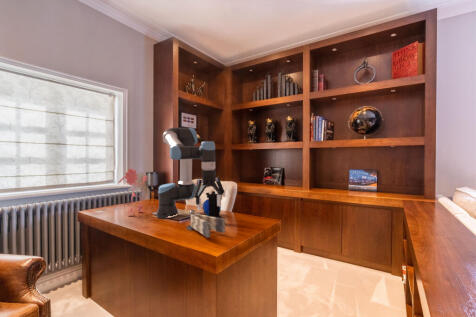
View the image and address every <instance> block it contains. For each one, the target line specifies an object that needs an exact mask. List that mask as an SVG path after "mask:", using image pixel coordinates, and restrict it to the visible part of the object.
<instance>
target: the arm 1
mask: <svg viewBox="0 0 476 317" xmlns="http://www.w3.org/2000/svg"><path fill="white" fill-rule="evenodd" d="M190 225H191V227H192V228H194V229H195V231H197V232H199V233H200V234H202V235H203V236H204V237H205V238H211V230H210V223H208V222H206V221H204V220H202V219H200V218H198V217H197V216H195V214H194V215H191V214H190Z"/></svg>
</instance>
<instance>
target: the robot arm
mask: <svg viewBox="0 0 476 317" xmlns="http://www.w3.org/2000/svg"><path fill="white" fill-rule="evenodd" d="M161 137H162V138H161V139H162V141H163V143H164V144H165V145H167V146H168V148H169V158H170V159H171V160H176V161H178V160H179V161H180V162H179V180H178V181H177V184H176V183H174V182H170V183H165V184H161V185H160V186H158V192H157V193H158V208H157V212H156V218H157V219H161V220H162V219H168V218H166V217H168V216H173V215H176V214H178V215H179V211H178V208H177V205H176V201H177V202H178V201H189V200H193V199H194V198H195V204H196V208H197V209H196V210H197V211H199V212H201V211H202V198H201V197H202V194H203V193H204V191H206V189H207V188H210V187H212V188H213V189H214V191H215V193H216V194H217V206H221V207H222V199H223V195H224V193H225V191H226V190H224V187H223V184H222V183H221V178H220V177H216V172H217V171H216V144H215V141H213V140H211V141H201V143H200V145H197V143H198V134H197V131H196V130H195V129H194V128H192V127H170V128H168V129H166V130H165V131H164V132H163V134H162V136H161ZM193 160H201V169H202V170H201V178H202V179H197V180H196V183H194V181H193V180H192V178H193V177H192V176H193Z"/></svg>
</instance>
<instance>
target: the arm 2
mask: <svg viewBox="0 0 476 317" xmlns="http://www.w3.org/2000/svg"><path fill="white" fill-rule="evenodd" d="M194 215H195V216H197V217H198V218H200V219H202V220H204V221H206V222H208V223H210V231H215V232H218V233H221V234H224V233H226V219H225V218H222V217H221V218H215V217H210V216H207V215H206V214H205V215H204V214H199V213H194Z"/></svg>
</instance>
